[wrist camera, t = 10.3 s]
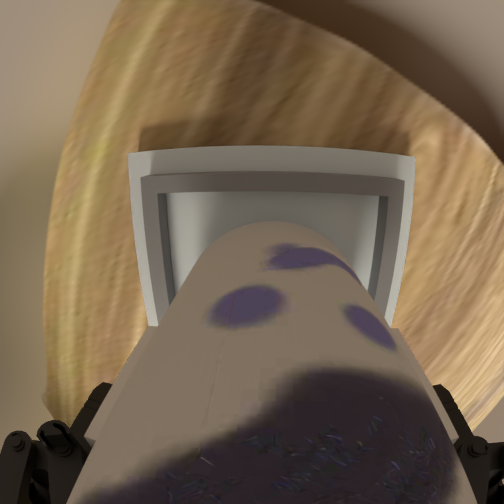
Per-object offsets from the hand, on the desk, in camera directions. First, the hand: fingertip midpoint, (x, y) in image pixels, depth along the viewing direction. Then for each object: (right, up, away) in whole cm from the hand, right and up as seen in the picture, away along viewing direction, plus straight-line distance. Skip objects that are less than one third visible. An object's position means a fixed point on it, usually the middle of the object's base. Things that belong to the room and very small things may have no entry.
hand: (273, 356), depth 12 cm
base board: (0, +3, +8) cm, 8 cm away
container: (0, +2, +5) cm, 5 cm away
